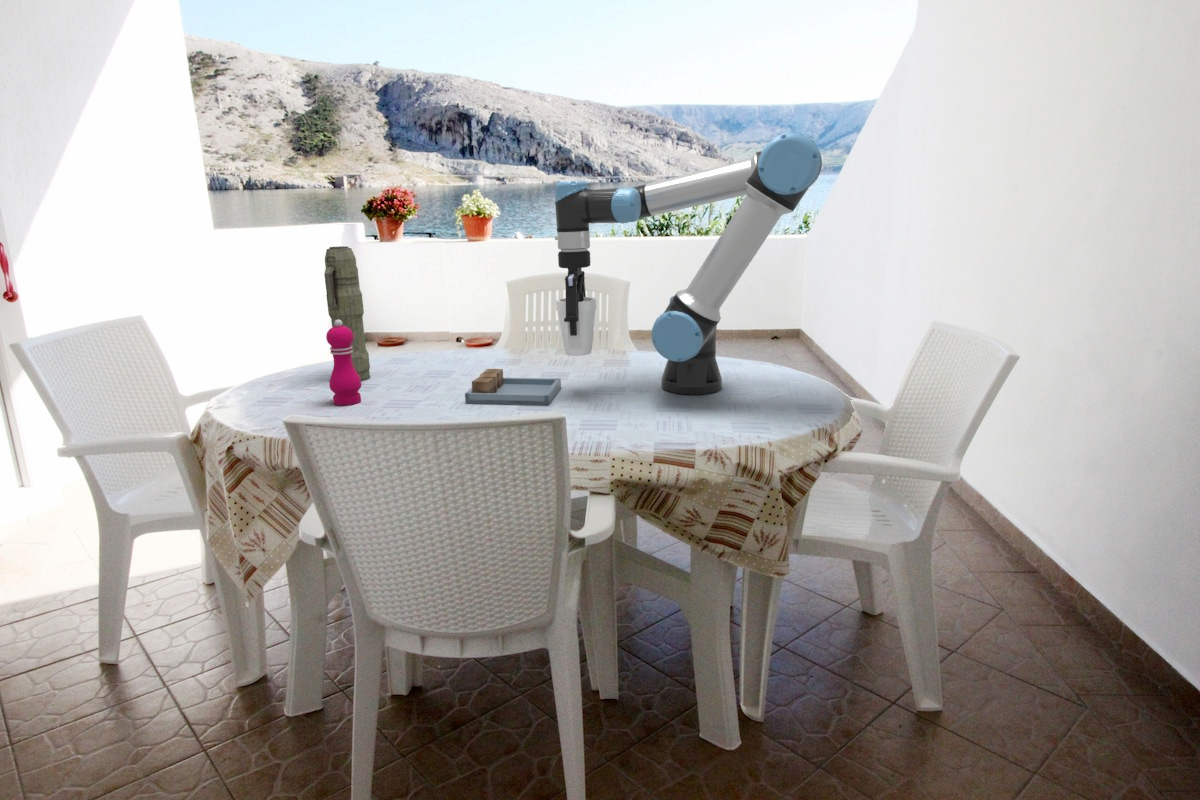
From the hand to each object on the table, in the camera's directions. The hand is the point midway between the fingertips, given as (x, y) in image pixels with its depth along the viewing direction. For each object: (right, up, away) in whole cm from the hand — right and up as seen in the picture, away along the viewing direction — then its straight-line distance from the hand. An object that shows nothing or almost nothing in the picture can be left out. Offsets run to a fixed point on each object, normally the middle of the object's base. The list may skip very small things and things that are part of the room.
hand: (578, 344), depth 172 cm
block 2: (-22, -11, +3) cm, 25 cm away
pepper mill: (-55, -14, -1) cm, 57 cm away
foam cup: (0, -2, +1) cm, 2 cm away
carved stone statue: (-62, -8, +21) cm, 66 cm away
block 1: (-23, -12, -1) cm, 26 cm away
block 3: (-22, -10, +7) cm, 25 cm away
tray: (-16, -12, +3) cm, 20 cm away
